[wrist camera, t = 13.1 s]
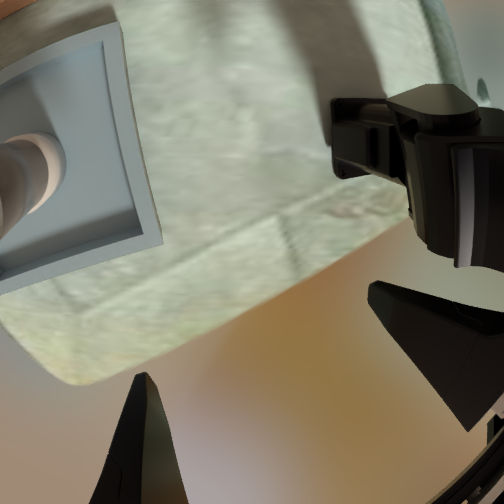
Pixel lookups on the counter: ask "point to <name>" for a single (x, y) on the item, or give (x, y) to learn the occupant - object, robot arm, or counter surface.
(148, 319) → the counter surface
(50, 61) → the parts tray
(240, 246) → the counter surface
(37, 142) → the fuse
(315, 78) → the counter surface
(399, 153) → the robot arm
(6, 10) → the socket ring
